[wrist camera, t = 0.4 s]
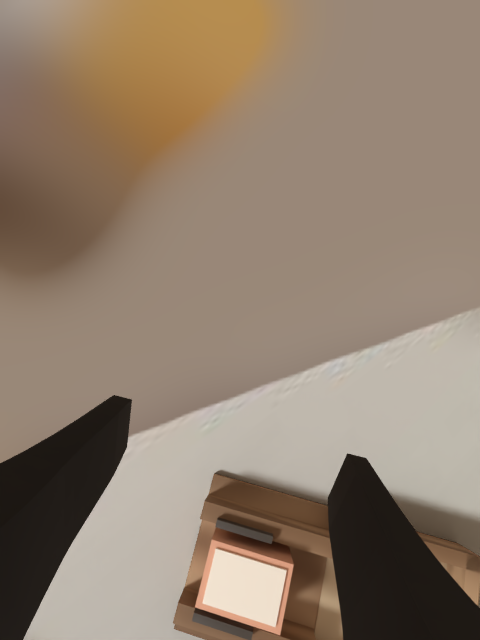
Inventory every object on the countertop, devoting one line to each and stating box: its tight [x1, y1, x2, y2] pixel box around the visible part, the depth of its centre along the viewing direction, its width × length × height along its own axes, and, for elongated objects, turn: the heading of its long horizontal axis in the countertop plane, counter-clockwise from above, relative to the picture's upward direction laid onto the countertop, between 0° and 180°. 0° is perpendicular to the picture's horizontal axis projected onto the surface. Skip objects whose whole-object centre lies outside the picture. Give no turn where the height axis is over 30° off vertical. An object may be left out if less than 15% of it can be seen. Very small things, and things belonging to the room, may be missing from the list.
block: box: [195, 527, 294, 635], centre depth 31 cm, size 5×7×5 cm
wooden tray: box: [173, 473, 480, 640], centre depth 31 cm, size 13×24×4 cm, turn 76°
